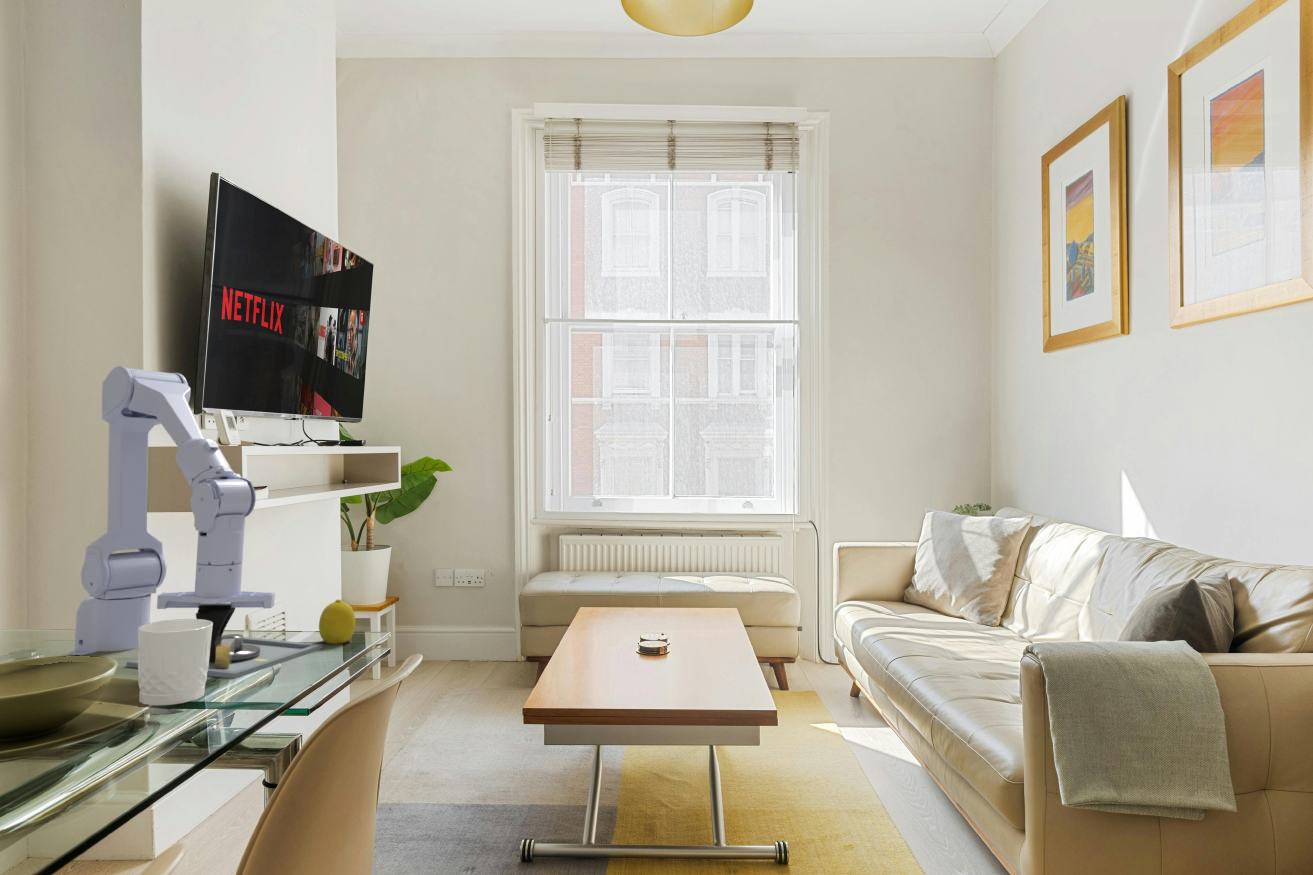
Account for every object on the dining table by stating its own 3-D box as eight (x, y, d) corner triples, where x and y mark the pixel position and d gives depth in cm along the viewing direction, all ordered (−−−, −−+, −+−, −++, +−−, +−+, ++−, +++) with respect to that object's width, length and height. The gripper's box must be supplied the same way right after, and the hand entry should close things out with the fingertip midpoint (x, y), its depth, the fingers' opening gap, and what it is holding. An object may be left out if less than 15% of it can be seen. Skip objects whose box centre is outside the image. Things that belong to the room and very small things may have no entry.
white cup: (140, 700, 98) (144, 620, 98) (212, 694, 101) (216, 617, 102) (127, 719, 91) (132, 633, 91) (204, 712, 94) (209, 629, 94)
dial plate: (125, 674, 109) (126, 661, 109) (225, 646, 126) (225, 635, 126) (234, 687, 104) (235, 673, 105) (321, 656, 122) (322, 644, 122)
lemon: (360, 645, 130) (362, 597, 130) (343, 653, 124) (346, 603, 124) (328, 643, 130) (331, 595, 130) (311, 651, 125) (313, 601, 125)
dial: (204, 651, 118) (205, 631, 118) (262, 648, 121) (263, 628, 121) (189, 669, 107) (190, 648, 108) (253, 666, 110) (254, 644, 110)
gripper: (151, 566, 105) (144, 667, 104) (269, 567, 108) (263, 665, 108) (169, 559, 111) (163, 654, 111) (279, 560, 115) (274, 652, 115)
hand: (213, 659), depth 110 cm, fingers closed, pressing on dial
